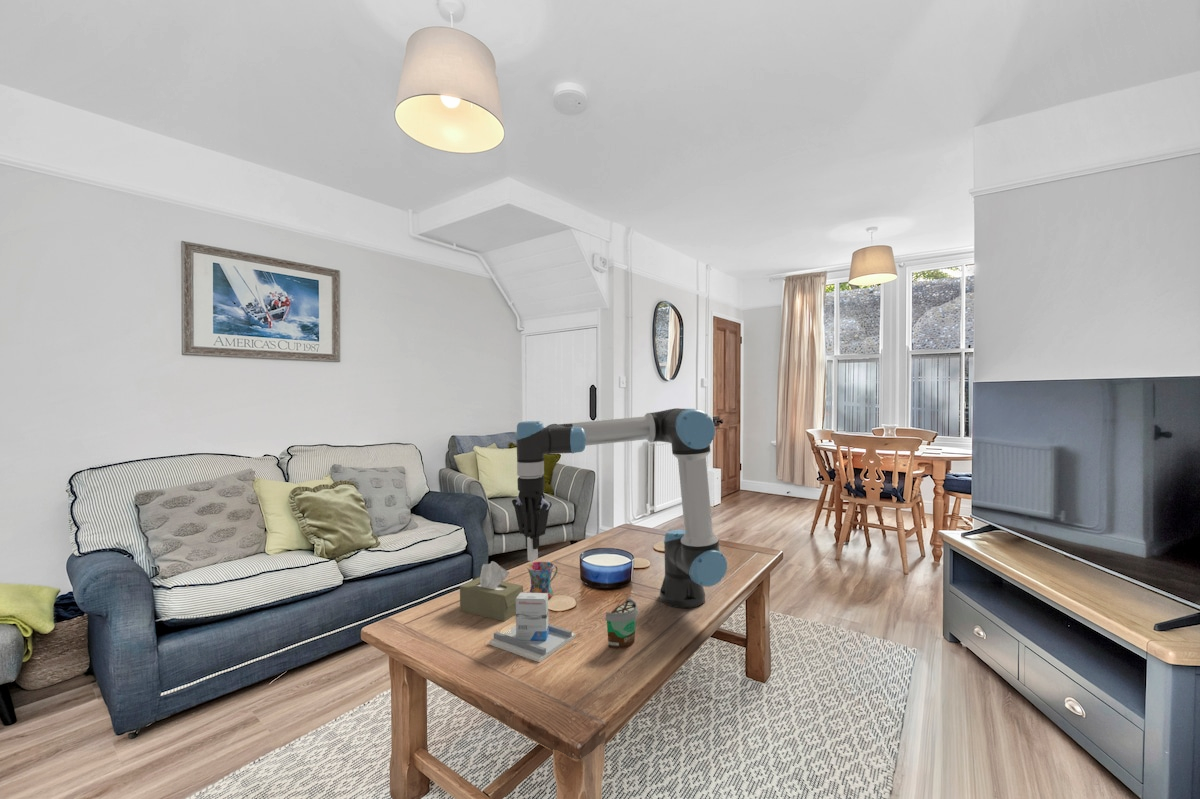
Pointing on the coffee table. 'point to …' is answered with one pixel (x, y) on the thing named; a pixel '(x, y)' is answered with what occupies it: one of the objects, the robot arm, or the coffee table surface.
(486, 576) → the tissue box
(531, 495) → the robot arm
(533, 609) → the ink box
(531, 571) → the mug
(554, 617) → the coffee table surface
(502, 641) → the rail mount
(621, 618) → the food container
